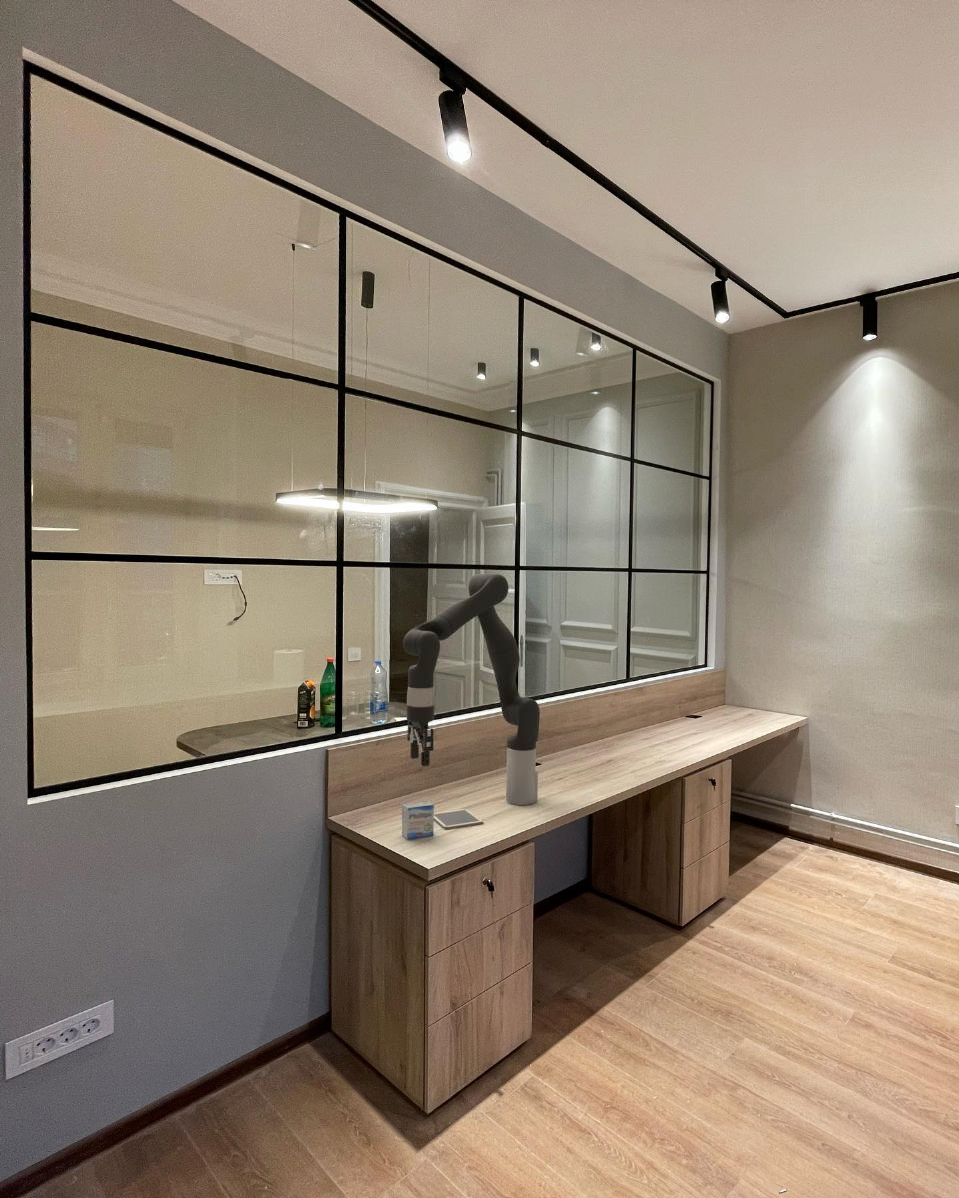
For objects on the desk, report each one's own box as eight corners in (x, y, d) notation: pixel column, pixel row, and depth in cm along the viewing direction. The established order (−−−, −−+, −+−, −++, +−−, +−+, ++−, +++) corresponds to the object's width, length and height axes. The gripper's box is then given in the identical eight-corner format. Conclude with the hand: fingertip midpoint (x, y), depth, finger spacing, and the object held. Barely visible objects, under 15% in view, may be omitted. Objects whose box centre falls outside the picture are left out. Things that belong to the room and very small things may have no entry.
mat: (466, 810, 208) (466, 808, 208) (483, 823, 197) (483, 821, 197) (429, 816, 203) (429, 813, 203) (444, 829, 192) (445, 827, 192)
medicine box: (406, 840, 184) (407, 808, 184) (401, 834, 188) (401, 803, 188) (433, 836, 187) (434, 804, 187) (428, 830, 191) (428, 799, 191)
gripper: (443, 706, 182) (442, 767, 183) (424, 698, 195) (423, 754, 195) (416, 708, 179) (415, 769, 179) (399, 699, 192) (398, 757, 192)
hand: (419, 761), depth 187 cm, fingers open, 8 cm apart
